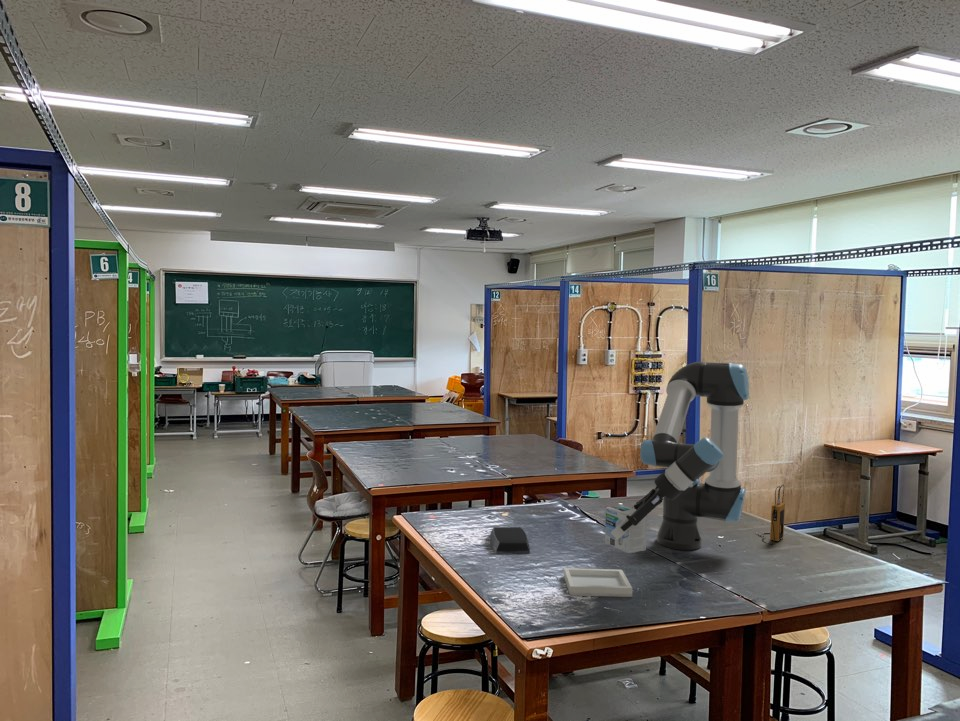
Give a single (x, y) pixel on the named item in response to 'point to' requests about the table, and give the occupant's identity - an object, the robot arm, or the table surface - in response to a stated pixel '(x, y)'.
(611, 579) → the housing tray
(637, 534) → the light bulb box
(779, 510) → the multimeter
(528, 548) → the external hard drive
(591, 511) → the table surface
